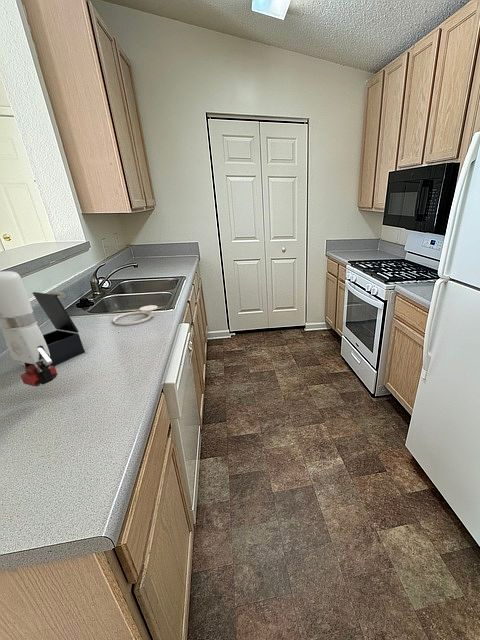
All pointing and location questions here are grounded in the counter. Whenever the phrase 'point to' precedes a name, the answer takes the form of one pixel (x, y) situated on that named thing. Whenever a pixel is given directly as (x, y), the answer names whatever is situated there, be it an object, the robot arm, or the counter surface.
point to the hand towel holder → (145, 308)
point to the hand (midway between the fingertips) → (41, 380)
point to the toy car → (35, 375)
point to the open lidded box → (63, 346)
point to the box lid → (56, 310)
